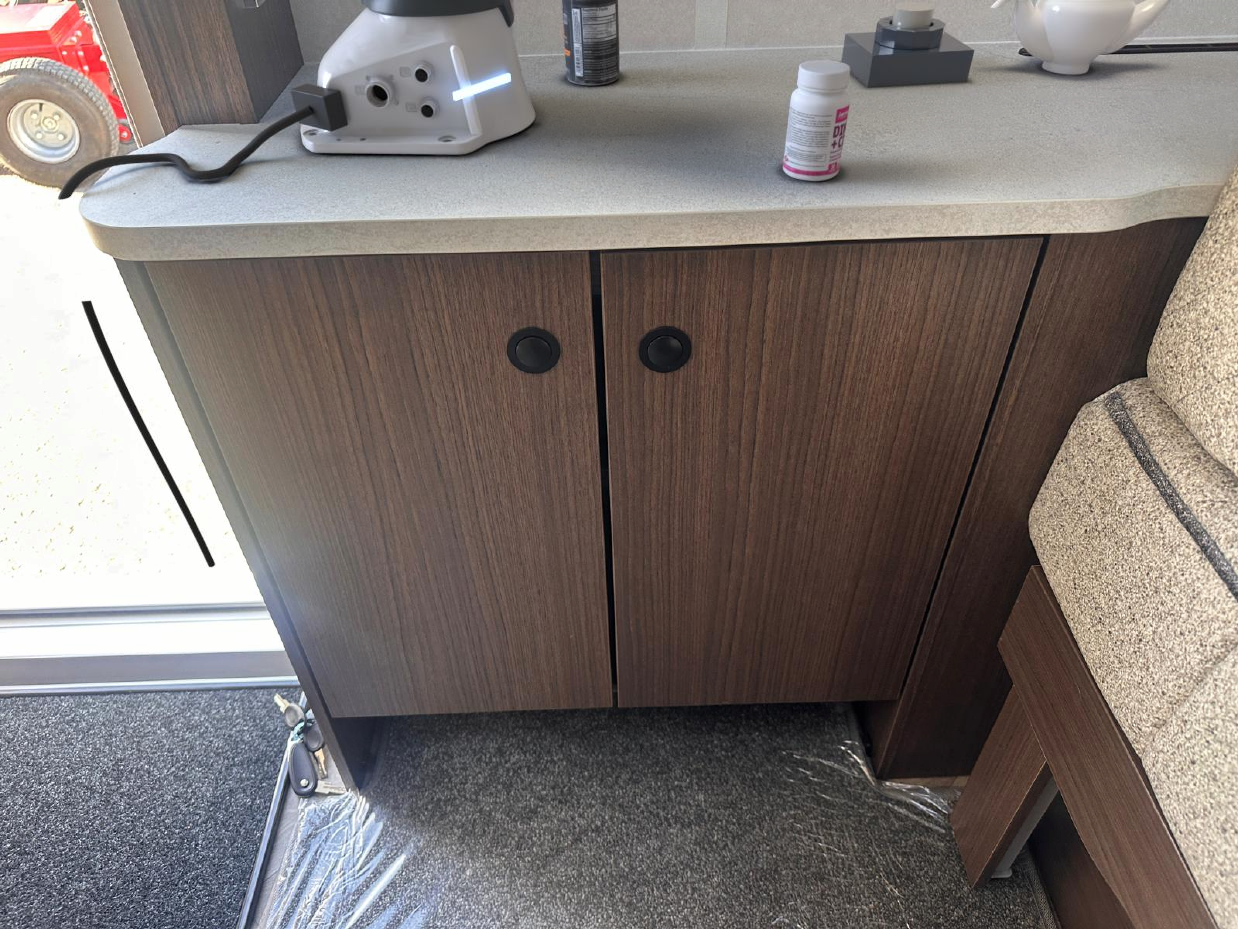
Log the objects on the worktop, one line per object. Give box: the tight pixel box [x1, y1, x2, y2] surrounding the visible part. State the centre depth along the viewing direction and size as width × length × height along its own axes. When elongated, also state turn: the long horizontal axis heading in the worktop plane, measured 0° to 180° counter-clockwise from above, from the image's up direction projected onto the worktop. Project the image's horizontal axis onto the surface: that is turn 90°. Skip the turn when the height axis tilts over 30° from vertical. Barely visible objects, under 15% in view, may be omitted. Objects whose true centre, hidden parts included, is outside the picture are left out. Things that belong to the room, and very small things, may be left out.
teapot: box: [990, 0, 1173, 76], centre depth 89 cm, size 10×20×9 cm, turn 91°
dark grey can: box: [561, 0, 621, 86], centre depth 89 cm, size 6×6×11 cm
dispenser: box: [840, 15, 975, 88], centre depth 91 cm, size 11×9×5 cm
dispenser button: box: [892, 1, 935, 29], centre depth 89 cm, size 4×4×2 cm
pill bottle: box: [782, 59, 851, 182], centre depth 69 cm, size 5×5×8 cm
